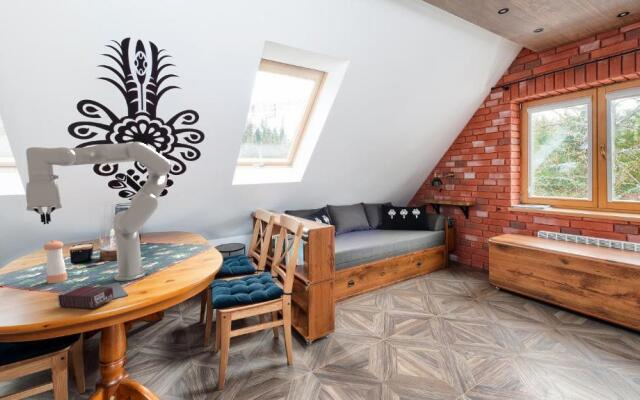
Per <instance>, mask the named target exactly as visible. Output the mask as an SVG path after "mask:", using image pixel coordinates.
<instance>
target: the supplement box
mask: <svg viewBox="0 0 640 400" xmlns="http://www.w3.org/2000/svg"><path fill="white" fill-rule="evenodd" d="M56 298H57V303H58V307H59V308H77V309H78V308H80V309H96V308H98V307H100V306H102V305H104V304H107V303H108V302H110V301H112V299H113V300H115V299H114V298H113V288H111V287H97V286H79V285H78V286H76V287H73V288H72V289H69V290H66V291H63V292H61V293H59V294H57V296H56Z"/></svg>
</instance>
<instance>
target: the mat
mask: <svg viewBox="0 0 640 400" xmlns="http://www.w3.org/2000/svg"><path fill="white" fill-rule="evenodd" d="M96 287H111V288H113V298H114V299H112V300H116V299H122V298H124V297H125V298H126V297H128V296H129V295H128V293H127V291H126V290H125V289H124V288H123V287H122V285H121V284H120V281H116V282H112V283H107V284H102V285H97V286H96ZM112 300H111V301H112Z"/></svg>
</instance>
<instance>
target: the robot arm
mask: <svg viewBox="0 0 640 400" xmlns="http://www.w3.org/2000/svg"><path fill="white" fill-rule="evenodd" d="M25 155H26V156H25V157H26V164H27V165H26V166H27V172H28V173H27V174H28V181H27V182H26V186H25V187H26V188H25V196H26V198H25V199H26V204H27V205H26V211H29V212H30V211H31V212H36V213H37V214H39V215H40V223H43V225H46V224H47V225H49V224H50V222H52V219H51V214H52V213H53V212H54V211H55V210H59V209H62V208H63V206H62V203H61V196H60V190H59V185H58V183H57V181H55V180H58V179H59V175H55V174H54V165H55V166H61V167H70V166H71V167H73V166H82V165H83V166H84V165H106V164H119V163H129V162H137V163H140V164H141V165H142V166H144V167H145V168H146V171H147V173H148V177H147V180H146V182H145V183H144V184H143V185H142V186H141V187H140V189H139V190H138V191H137V192H136V193H135V194H134V195H133V196H132V197H131V200H130V206H129V207H128V208H127V209H125V210H121V211H118V212H117V213H116V214H115V215H114V217H113V220H112V221H113V223H112V224H113V230H114V237H115V248H116V263H117V274H115V275H114V280H115V281H117V282H120V281H122V282H124V281H132V280H136V279H140V278H142V277H145V275H146V271H147V270H153V268H154V266H153V264H146V265H142V256H141V245H140V244H141V242H140V241H141V240H140V232H139V231H140V230H141V229H142V227H143V226H145V224H146V223H147V222H148V221H149V219H151V217H152V216H153V215H154V214H155V212H156V210H157V209H158V204H159V201H158V198H159V197H160V195H161V194H162V192H163V191H164V190H165V188H166V187H167V184H168V183H167V182H168V173H170V172H171V167H172V165H171V163H170V161H169V160H168V159H167V158H166V156H164V155H162V154H160V153H158V152H157V151H156V150H154V149H152V148H151V147H149V146H148V145H147V144H145V143H143V142H141V141H133V142H128V143H127V142H124V143H107V144H105V143H102V144H97V145H93V146H86V147H84V146H83V147H74V148H73V147H72V148H70V147H69V148H68V147H63V146H62V147H36V146H35V147H33V146H32V147H31V146H30V147H27V148H26V150H25ZM46 207H47V208H46ZM43 208H46V212H44V211H43Z"/></svg>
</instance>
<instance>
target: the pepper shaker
mask: <svg viewBox="0 0 640 400" xmlns="http://www.w3.org/2000/svg"><path fill="white" fill-rule="evenodd" d="M64 245H65V244H64V243H63V242H62V241H59V240H56V239H52V240H51V241H48V242H46V243H45V244H44V245H43V250H46V252H45V253H46V274H45V275H46V276H45V277H46V283H47V284H57V283H62V282H65V281H67V280H68V272H67V271H66V263H65V260H64V256H63V248H64Z"/></svg>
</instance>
